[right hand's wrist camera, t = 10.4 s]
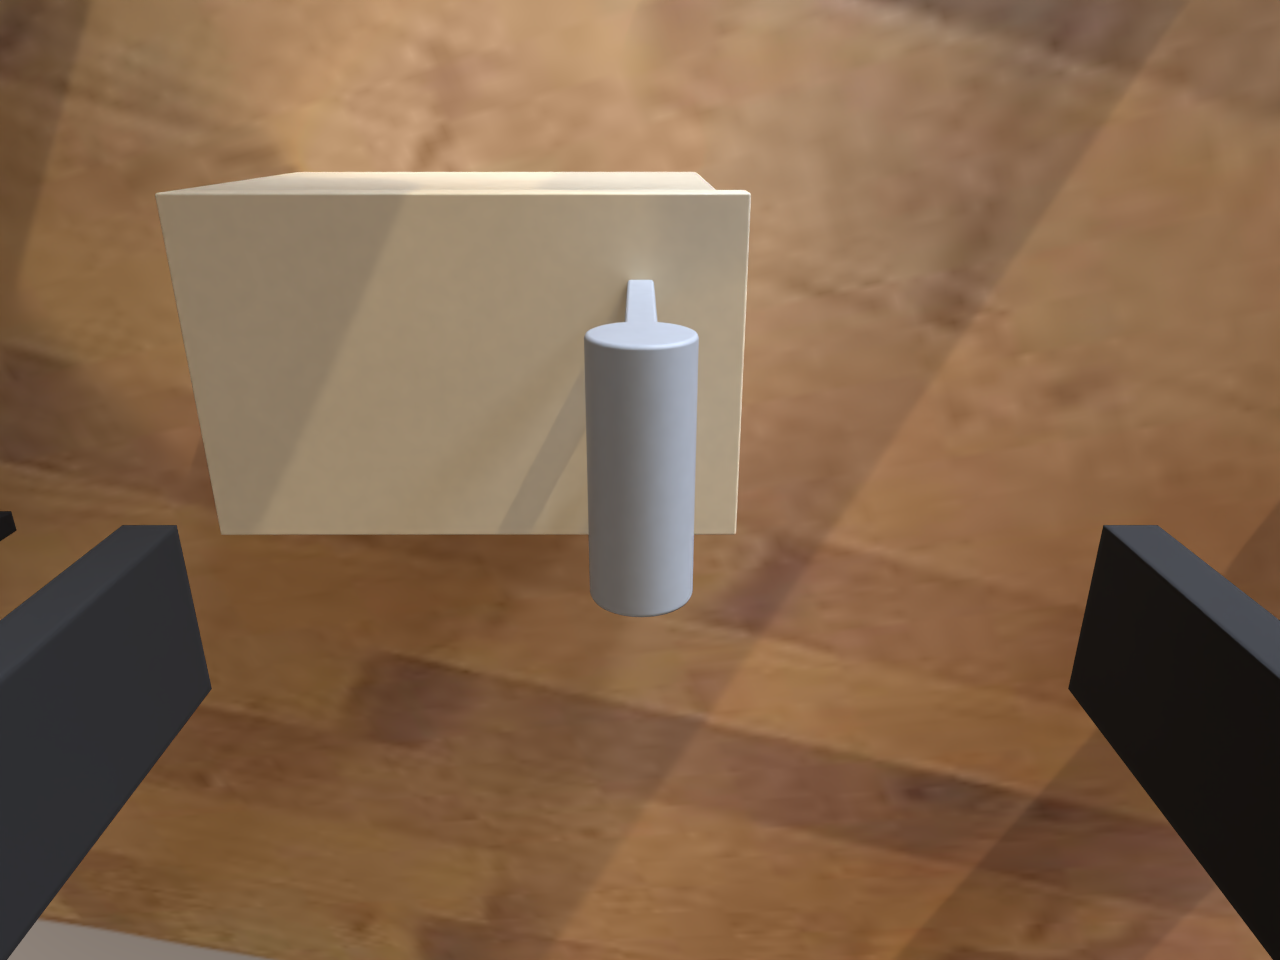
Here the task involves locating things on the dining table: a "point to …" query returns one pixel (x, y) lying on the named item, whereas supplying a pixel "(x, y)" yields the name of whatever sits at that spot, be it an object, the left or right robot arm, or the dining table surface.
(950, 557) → the dining table surface
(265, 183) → the chest
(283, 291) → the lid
